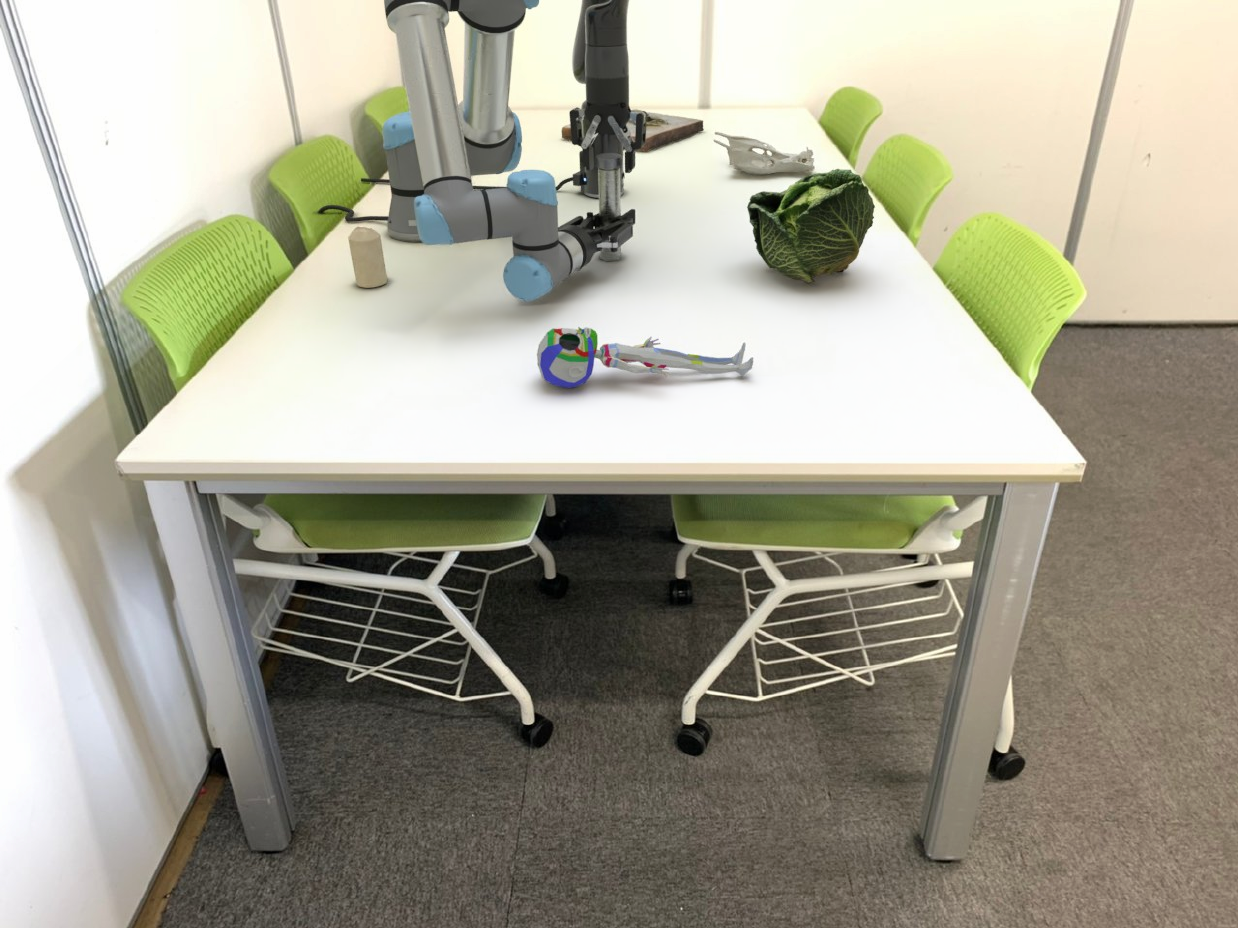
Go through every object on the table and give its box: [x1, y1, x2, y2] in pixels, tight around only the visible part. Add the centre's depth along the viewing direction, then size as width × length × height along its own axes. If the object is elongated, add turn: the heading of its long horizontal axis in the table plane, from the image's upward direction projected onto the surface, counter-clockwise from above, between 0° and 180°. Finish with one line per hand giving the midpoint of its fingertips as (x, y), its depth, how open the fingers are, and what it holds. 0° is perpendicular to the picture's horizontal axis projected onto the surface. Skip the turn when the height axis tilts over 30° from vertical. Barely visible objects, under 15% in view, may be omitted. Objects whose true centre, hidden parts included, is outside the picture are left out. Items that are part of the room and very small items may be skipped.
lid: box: [596, 153, 622, 169], centre depth 162 cm, size 5×5×2 cm
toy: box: [536, 326, 754, 389], centre depth 127 cm, size 10×8×30 cm
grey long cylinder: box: [598, 167, 622, 262], centre depth 167 cm, size 4×4×18 cm
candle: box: [347, 226, 388, 289], centre depth 159 cm, size 6×6×10 cm
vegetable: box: [746, 168, 876, 284], centre depth 158 cm, size 20×19×20 cm
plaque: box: [561, 108, 705, 152], centre depth 257 cm, size 30×7×30 cm
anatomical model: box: [713, 131, 815, 176], centre depth 221 cm, size 15×9×25 cm
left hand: (622, 214), depth 172 cm, fingers closed on grey long cylinder, 4 cm apart
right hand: (609, 170), depth 163 cm, fingers open, 7 cm apart
